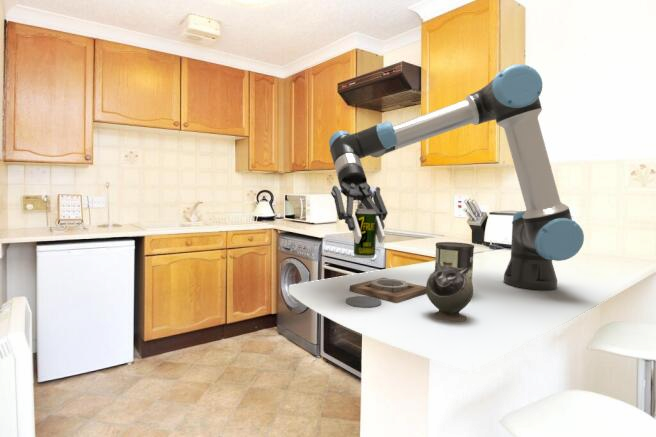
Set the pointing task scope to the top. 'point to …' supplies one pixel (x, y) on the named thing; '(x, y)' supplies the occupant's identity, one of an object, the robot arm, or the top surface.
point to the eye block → (389, 289)
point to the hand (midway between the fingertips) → (370, 239)
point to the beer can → (366, 233)
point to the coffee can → (455, 255)
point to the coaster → (363, 301)
